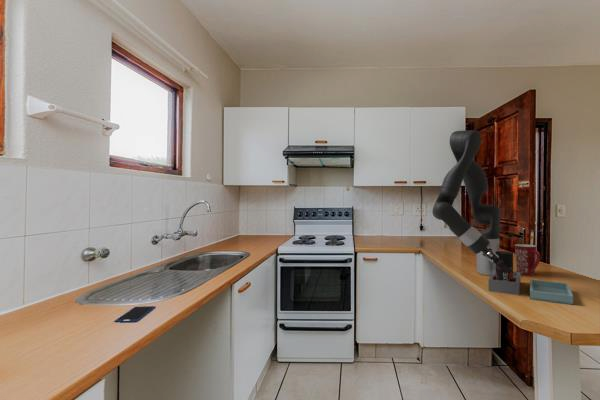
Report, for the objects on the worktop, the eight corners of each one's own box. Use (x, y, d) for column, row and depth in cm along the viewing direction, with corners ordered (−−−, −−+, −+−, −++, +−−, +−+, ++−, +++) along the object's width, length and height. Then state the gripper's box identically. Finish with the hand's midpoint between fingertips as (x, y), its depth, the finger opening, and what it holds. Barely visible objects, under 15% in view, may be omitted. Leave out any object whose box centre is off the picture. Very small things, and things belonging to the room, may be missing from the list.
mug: (510, 271, 161) (509, 244, 161) (527, 270, 162) (527, 243, 162) (528, 277, 149) (528, 248, 149) (548, 277, 149) (547, 247, 149)
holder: (519, 295, 122) (519, 283, 122) (488, 290, 128) (488, 279, 128) (520, 282, 139) (520, 272, 139) (493, 279, 145) (493, 269, 145)
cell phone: (112, 324, 98) (112, 321, 98) (135, 308, 112) (135, 306, 112) (137, 323, 98) (137, 321, 98) (156, 308, 112) (156, 305, 112)
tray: (573, 305, 110) (573, 296, 110) (530, 299, 117) (529, 290, 117) (567, 291, 126) (567, 283, 126) (530, 286, 133) (530, 279, 133)
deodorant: (508, 288, 132) (508, 251, 132) (516, 292, 126) (516, 253, 126) (492, 287, 132) (492, 251, 132) (500, 292, 126) (500, 253, 126)
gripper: (483, 235, 125) (519, 266, 121) (477, 231, 138) (509, 260, 134) (468, 248, 127) (502, 279, 123) (464, 243, 140) (494, 271, 136)
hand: (506, 269), depth 129 cm, fingers open, 8 cm apart
